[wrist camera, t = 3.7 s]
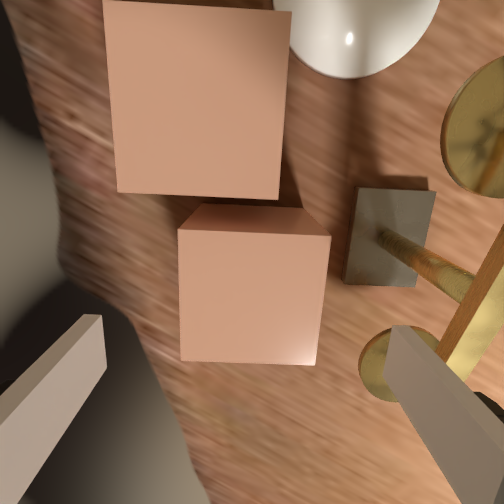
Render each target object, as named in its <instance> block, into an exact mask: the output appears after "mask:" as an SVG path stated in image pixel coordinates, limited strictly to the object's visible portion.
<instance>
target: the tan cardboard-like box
mask: <svg viewBox="0 0 504 504" xmlns="http://www.w3.org/2000/svg"><path fill="white" fill-rule="evenodd" d="M102 2H103V14H104V27H105V39H106V52H107V64H108V77H109V89H110V102H111V114H112V127H113V139H114V152H115V164H116V177H117V189H118V192H124V193H145V194H166V195H187V196H208V197H229V198H250V199H271V200H278V195H279V182H280V168H281V154H282V141H283V127H284V114H285V100H286V86H287V73H288V59H289V46H290V32H291V18H292V11H276V10H259V9H243V8H227V7H211V6H194V5H178V4H162V3H145V2H129V1H113V0H102Z"/></svg>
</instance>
